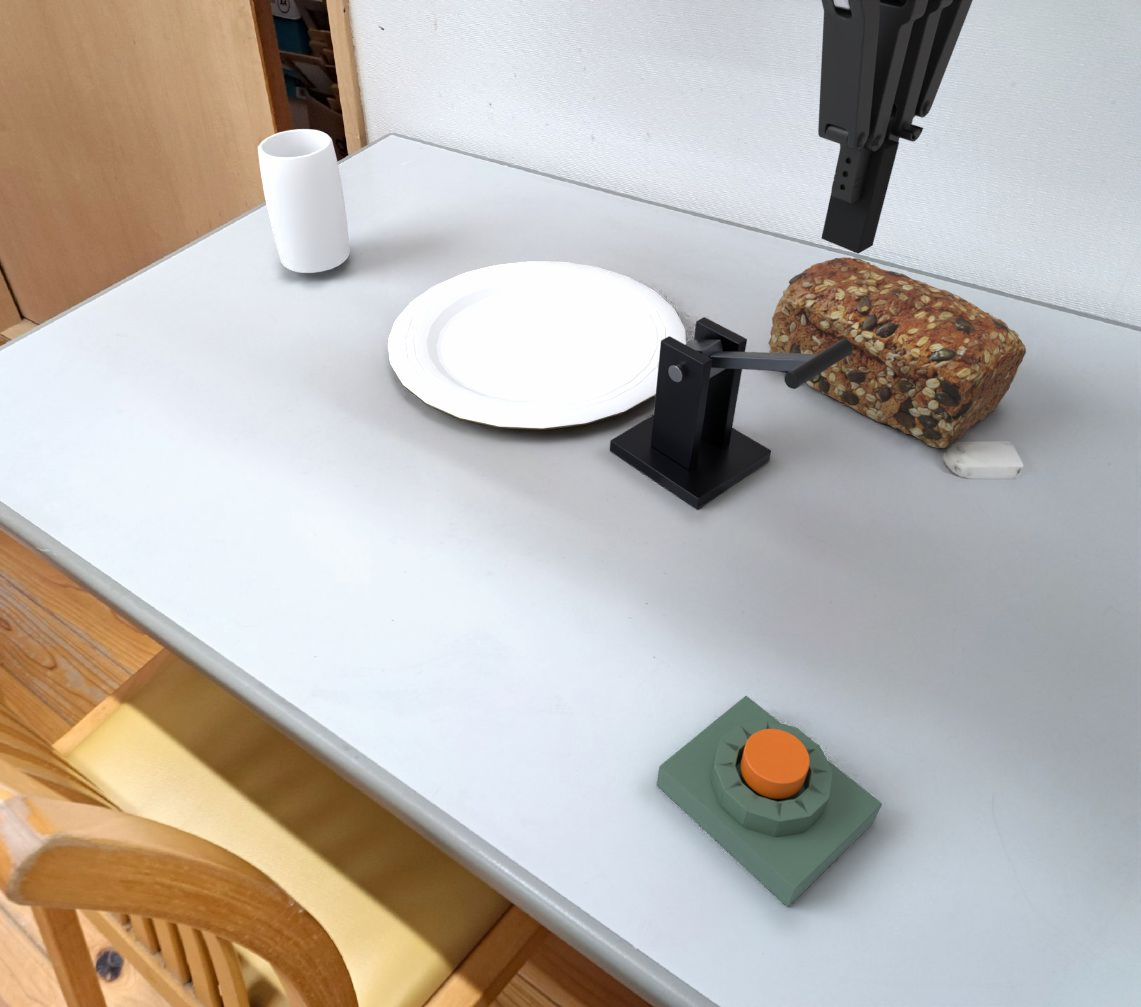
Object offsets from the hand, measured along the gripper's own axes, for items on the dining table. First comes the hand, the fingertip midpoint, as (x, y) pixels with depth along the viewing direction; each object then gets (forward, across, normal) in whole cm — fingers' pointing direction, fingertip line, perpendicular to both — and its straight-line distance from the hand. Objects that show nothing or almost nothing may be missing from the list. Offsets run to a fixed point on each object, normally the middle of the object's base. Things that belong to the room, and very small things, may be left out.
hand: (846, 241), depth 60 cm
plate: (+24, -1, -31) cm, 39 cm away
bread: (+24, -20, -5) cm, 32 cm away
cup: (+24, +6, -61) cm, 66 cm away
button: (+20, +21, +15) cm, 33 cm away
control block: (+24, +21, +15) cm, 35 cm away
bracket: (+24, 0, -10) cm, 26 cm away
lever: (+13, 0, -5) cm, 14 cm away
